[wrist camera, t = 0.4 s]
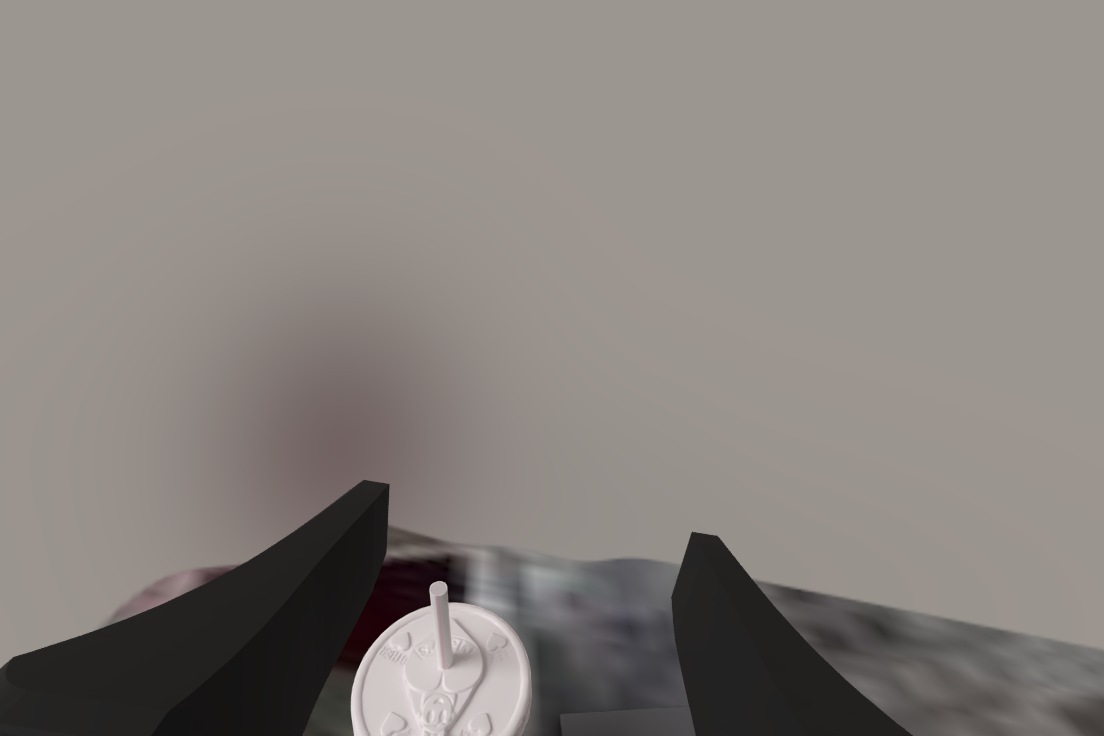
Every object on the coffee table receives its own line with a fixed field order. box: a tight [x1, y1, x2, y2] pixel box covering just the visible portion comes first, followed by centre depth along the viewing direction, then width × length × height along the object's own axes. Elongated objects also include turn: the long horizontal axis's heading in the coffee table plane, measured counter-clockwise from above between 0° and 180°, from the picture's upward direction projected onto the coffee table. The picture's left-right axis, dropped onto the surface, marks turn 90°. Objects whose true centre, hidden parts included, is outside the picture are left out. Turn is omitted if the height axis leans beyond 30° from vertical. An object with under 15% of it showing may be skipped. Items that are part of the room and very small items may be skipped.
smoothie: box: [351, 581, 532, 736], centre depth 21 cm, size 6×6×14 cm
